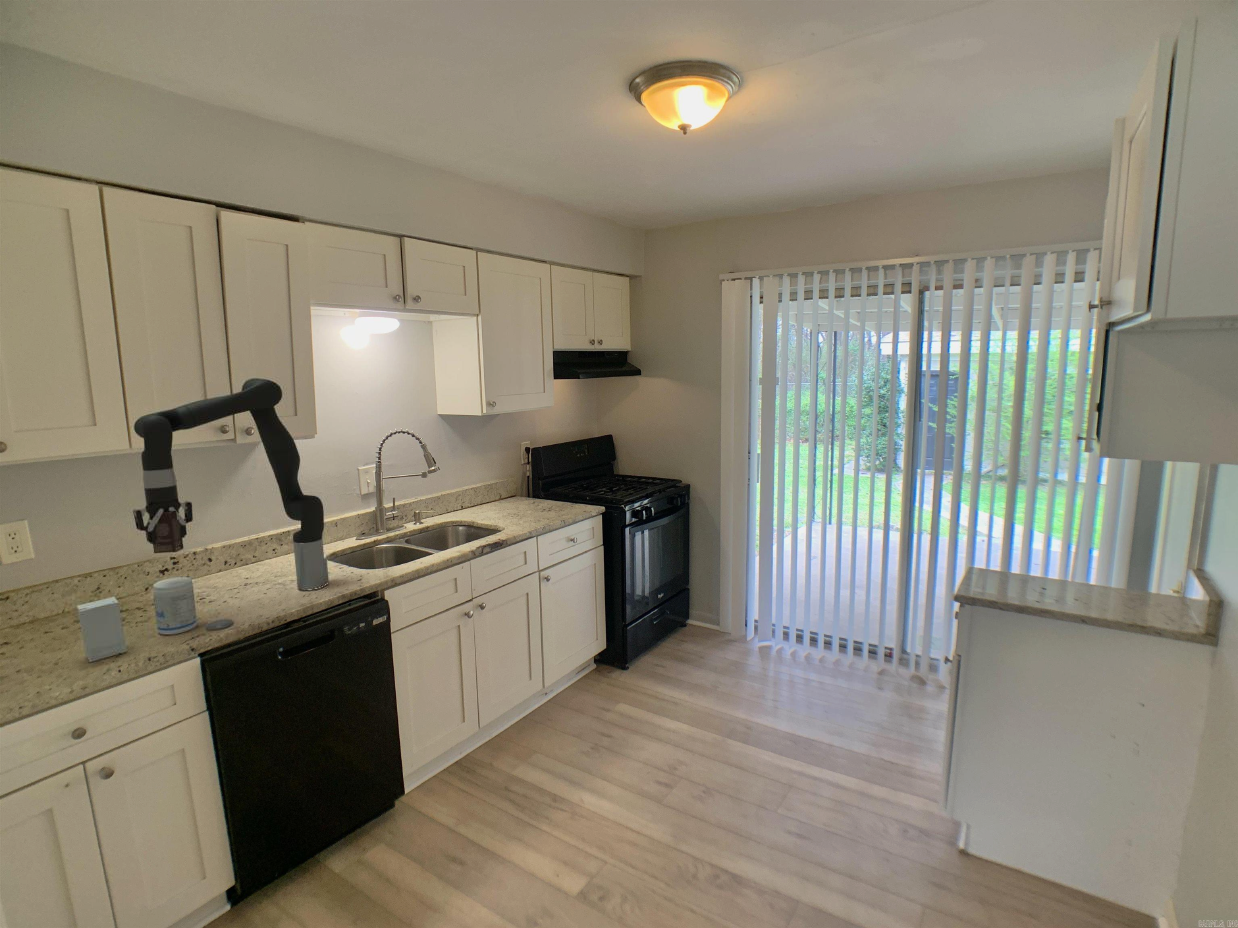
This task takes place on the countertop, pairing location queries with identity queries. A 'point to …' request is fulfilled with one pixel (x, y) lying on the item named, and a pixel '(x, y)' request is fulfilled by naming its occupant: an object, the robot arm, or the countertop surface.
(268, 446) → the robot arm
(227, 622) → the slate coaster
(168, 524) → the box
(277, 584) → the countertop surface
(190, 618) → the supplement tub
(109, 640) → the skincare box
